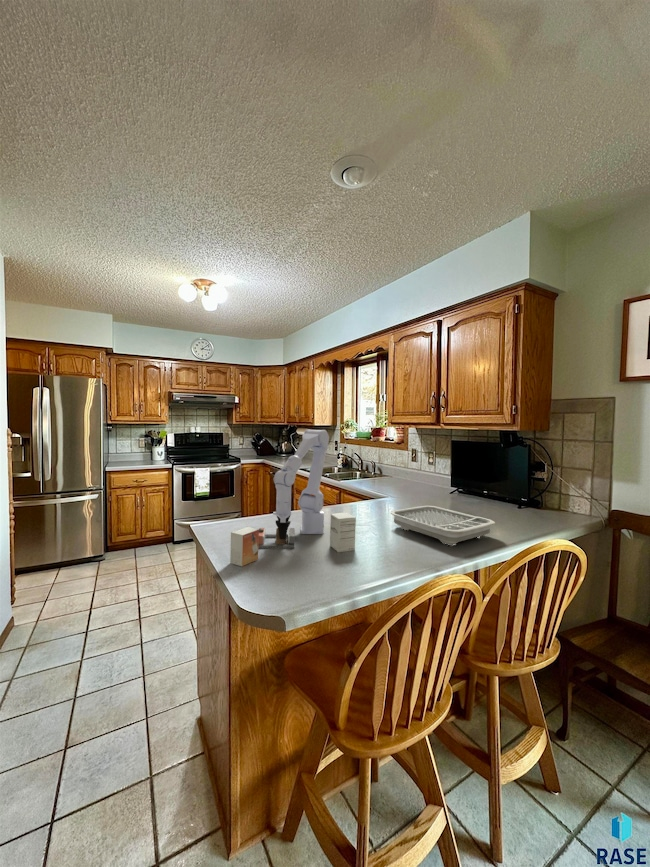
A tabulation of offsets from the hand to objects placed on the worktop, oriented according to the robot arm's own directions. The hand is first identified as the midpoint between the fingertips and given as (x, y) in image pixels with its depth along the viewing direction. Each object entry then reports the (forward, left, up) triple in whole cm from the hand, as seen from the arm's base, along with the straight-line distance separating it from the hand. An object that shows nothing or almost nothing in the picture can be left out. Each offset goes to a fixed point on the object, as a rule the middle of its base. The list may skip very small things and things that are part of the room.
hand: (282, 535), depth 138 cm
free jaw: (+8, 0, -3) cm, 9 cm away
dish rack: (-68, -10, -3) cm, 69 cm away
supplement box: (-22, +7, -3) cm, 24 cm away
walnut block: (+1, 0, -3) cm, 3 cm away
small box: (+12, +18, -3) cm, 22 cm away
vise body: (+4, 0, -3) cm, 5 cm away
